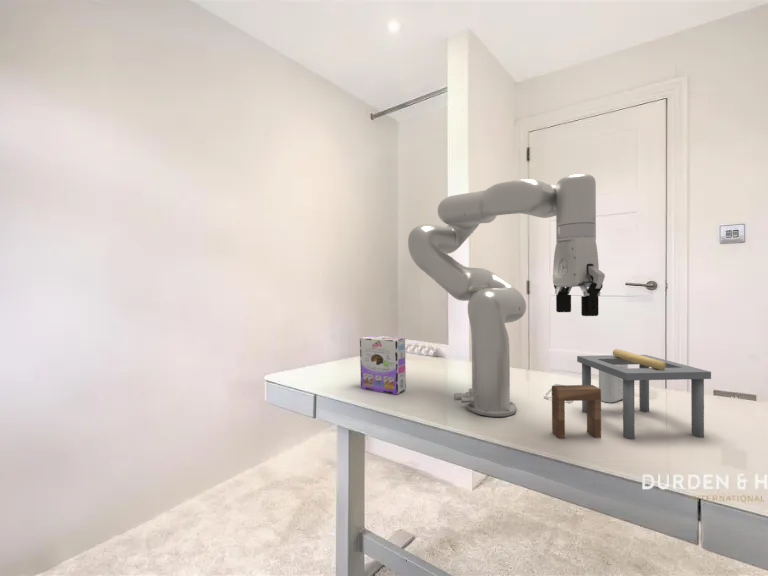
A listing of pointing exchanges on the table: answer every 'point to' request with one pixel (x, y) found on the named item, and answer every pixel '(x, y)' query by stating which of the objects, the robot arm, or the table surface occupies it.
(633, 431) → the grey open-frame table
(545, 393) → the phone case
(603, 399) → the photo printer
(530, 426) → the table surface
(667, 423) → the table surface
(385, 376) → the candy box
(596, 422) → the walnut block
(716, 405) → the table surface
